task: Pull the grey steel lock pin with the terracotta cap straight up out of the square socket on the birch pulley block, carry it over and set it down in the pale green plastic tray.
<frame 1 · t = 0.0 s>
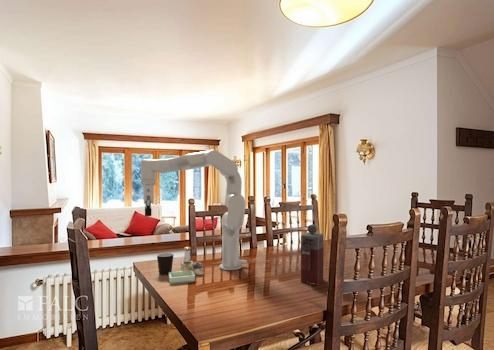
hand: (148, 215, 176), 31 cm above the table, fingers open, 9 cm apart
pulley block: (192, 273, 178), on the table
tray: (181, 279, 167), on the table
coffee mug: (166, 272, 179), on the table
lock pin: (187, 268, 177), point 3 cm above the table, touching pulley block
dark red bottle: (311, 282, 165), on the table
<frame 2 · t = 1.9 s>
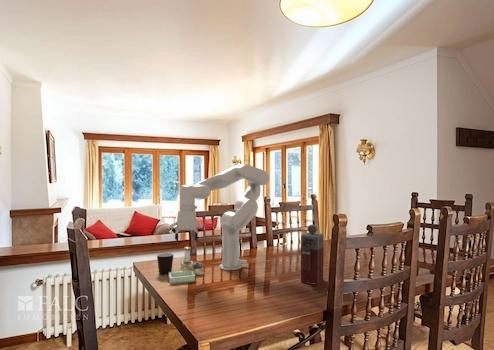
hand: (186, 240, 177), 18 cm above the table, fingers open, 9 cm apart
nothing on the table moved.
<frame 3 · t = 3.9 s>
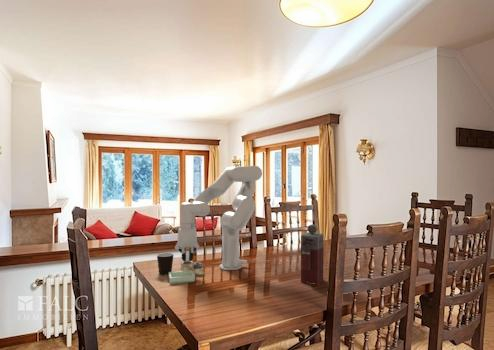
hand: (187, 260, 177), 7 cm above the table, fingers closed on lock pin, 3 cm apart
lock pin: (187, 268, 177), point 3 cm above the table, touching gripper, pulley block
everything else where it was.
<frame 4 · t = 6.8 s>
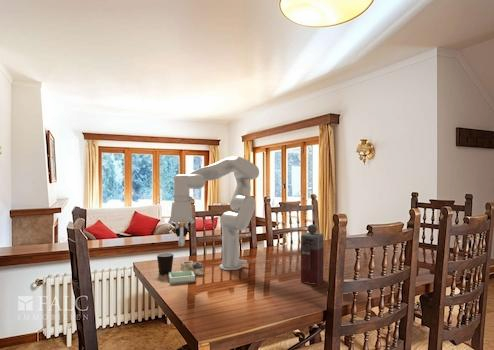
hand: (181, 235, 167), 22 cm above the table, fingers closed on lock pin, 3 cm apart
lock pin: (181, 245, 167), point 17 cm above the table, touching gripper
everything else where it was.
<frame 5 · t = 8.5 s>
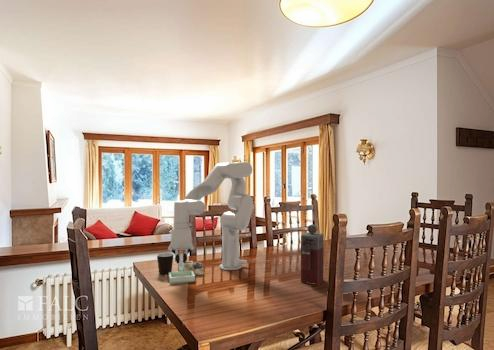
hand: (181, 262, 167), 9 cm above the table, fingers closed on lock pin, 3 cm apart
lock pin: (180, 271, 167), point 4 cm above the table, touching gripper
everything else where it was.
when the fingers open (6 cm above the table, at t = 9.7 s): lock pin stays where it is, resting on tray.
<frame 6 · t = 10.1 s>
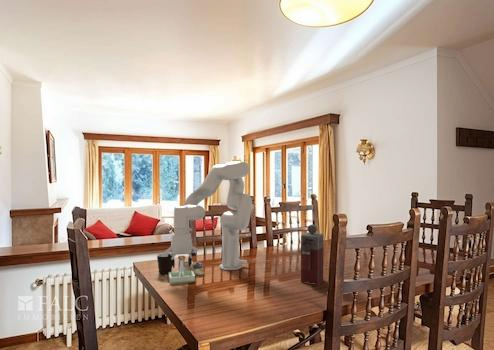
hand: (181, 266, 167), 7 cm above the table, fingers open, 7 cm apart
lock pin: (181, 278, 167), point 1 cm above the table, touching tray
everything else where it was.
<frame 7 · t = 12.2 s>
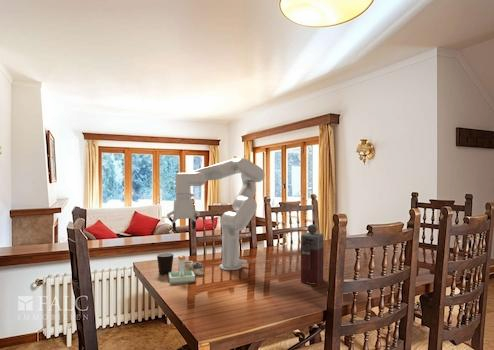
hand: (184, 229, 173), 24 cm above the table, fingers open, 9 cm apart
nothing on the table moved.
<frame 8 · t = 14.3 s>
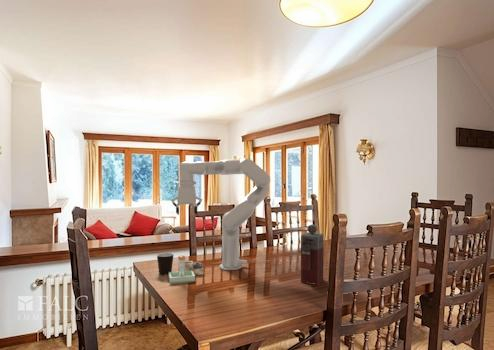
hand: (186, 214, 188), 30 cm above the table, fingers open, 9 cm apart
nothing on the table moved.
at the end: lock pin inside the target area on the tray (0.0 cm from its centre), point 0.8 cm above the tray's base; the gripper is holding nothing; lock pin touching tray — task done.
